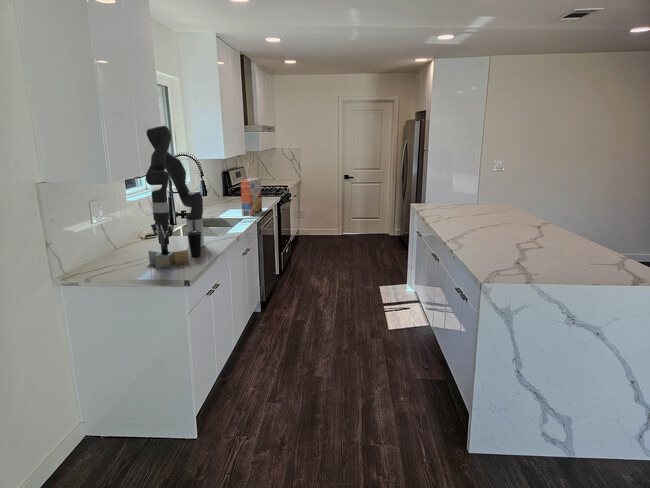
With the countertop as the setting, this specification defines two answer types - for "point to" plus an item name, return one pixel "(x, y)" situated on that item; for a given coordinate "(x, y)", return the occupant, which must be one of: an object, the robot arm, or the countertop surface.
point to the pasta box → (251, 196)
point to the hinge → (168, 258)
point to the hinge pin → (163, 247)
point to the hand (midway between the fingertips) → (164, 244)
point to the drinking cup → (195, 242)
